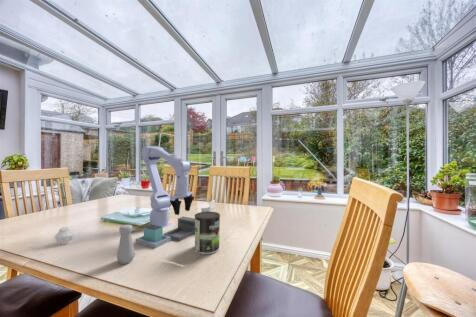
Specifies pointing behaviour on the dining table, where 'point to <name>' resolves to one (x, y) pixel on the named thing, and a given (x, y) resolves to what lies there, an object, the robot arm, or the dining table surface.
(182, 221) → the bay
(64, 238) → the muffin
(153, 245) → the tray
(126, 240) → the salt shaker
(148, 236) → the teal block grey face
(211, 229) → the coffee can
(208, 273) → the dining table surface
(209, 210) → the ink cartridge box
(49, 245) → the dining table surface
